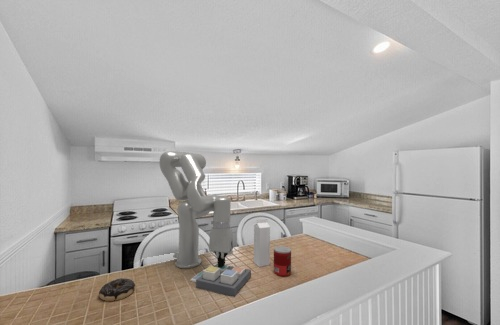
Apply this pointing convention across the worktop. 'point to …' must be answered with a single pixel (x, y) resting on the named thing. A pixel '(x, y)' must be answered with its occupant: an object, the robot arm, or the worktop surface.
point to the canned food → (282, 261)
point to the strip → (197, 276)
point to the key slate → (229, 277)
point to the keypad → (224, 288)
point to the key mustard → (211, 273)
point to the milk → (262, 243)
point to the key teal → (223, 268)
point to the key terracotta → (239, 271)
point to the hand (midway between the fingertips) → (221, 266)
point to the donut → (117, 289)
